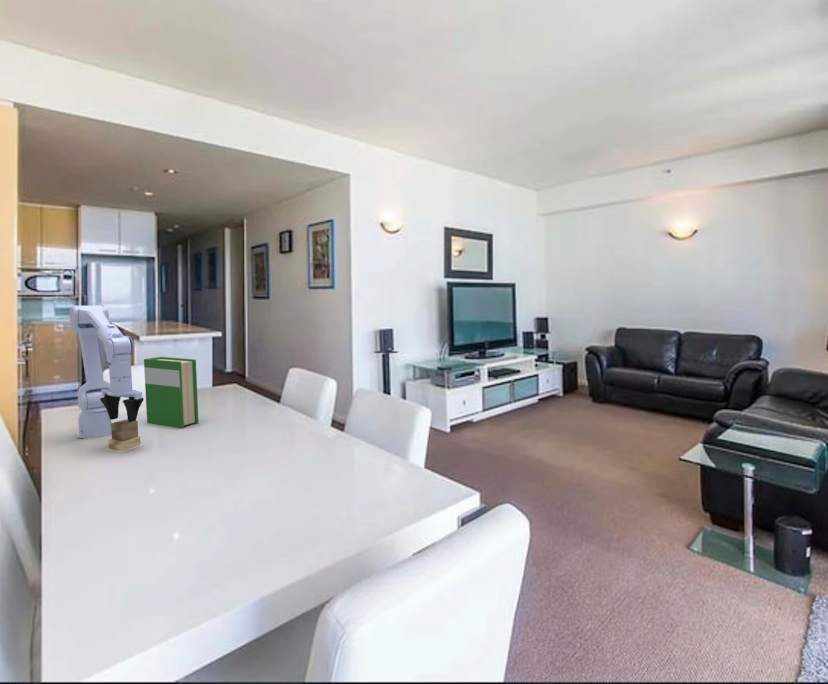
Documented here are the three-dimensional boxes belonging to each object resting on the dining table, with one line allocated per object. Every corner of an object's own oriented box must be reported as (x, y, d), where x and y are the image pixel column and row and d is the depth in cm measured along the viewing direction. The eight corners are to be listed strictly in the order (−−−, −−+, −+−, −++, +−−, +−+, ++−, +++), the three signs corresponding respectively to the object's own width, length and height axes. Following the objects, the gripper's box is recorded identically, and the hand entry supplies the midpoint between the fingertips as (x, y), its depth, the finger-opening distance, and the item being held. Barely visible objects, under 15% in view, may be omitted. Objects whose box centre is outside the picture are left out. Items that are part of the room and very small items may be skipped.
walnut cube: (111, 439, 146) (110, 423, 146) (126, 434, 151) (125, 419, 150) (123, 441, 144) (122, 425, 144) (138, 436, 149) (137, 420, 149)
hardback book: (198, 423, 177) (195, 359, 175) (181, 428, 170) (178, 362, 168) (164, 418, 184) (161, 356, 182) (147, 423, 177) (143, 359, 175)
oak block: (108, 448, 146) (108, 440, 146) (126, 443, 151) (125, 434, 151) (123, 451, 144) (122, 442, 144) (140, 445, 149) (140, 436, 149)
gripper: (90, 377, 144) (93, 421, 145) (126, 380, 139) (129, 425, 141) (112, 373, 151) (114, 415, 152) (147, 376, 146) (149, 419, 147)
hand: (123, 420), depth 147 cm, fingers open, 7 cm apart
